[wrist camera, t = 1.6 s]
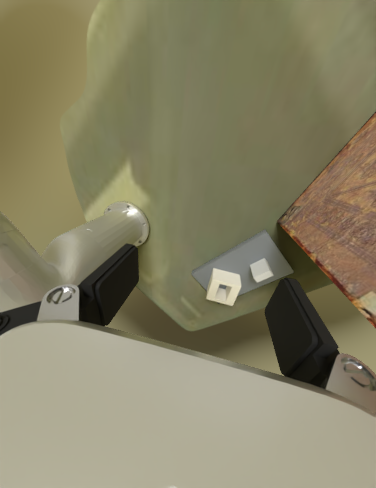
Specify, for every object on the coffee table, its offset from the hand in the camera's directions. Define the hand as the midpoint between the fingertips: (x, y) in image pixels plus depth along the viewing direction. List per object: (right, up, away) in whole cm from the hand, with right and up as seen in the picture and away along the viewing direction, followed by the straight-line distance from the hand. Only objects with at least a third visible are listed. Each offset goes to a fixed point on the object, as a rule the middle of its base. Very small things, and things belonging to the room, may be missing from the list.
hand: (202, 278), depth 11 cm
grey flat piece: (+13, -5, +33) cm, 35 cm away
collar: (+9, -8, +33) cm, 35 cm away
